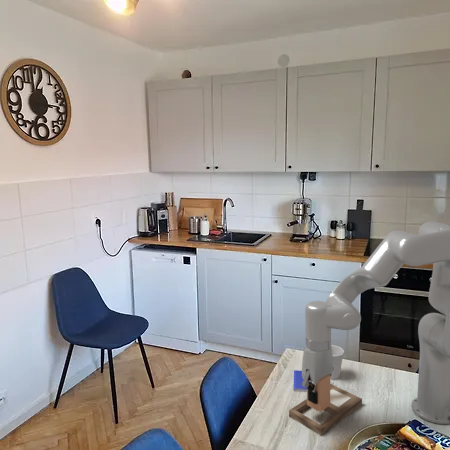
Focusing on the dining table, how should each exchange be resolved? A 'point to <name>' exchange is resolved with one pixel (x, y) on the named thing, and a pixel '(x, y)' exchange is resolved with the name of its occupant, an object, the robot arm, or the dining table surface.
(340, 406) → the socket board
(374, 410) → the dining table surface
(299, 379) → the hard drive
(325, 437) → the dining table surface
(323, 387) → the block
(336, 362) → the dixie cup
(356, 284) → the robot arm
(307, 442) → the dining table surface
